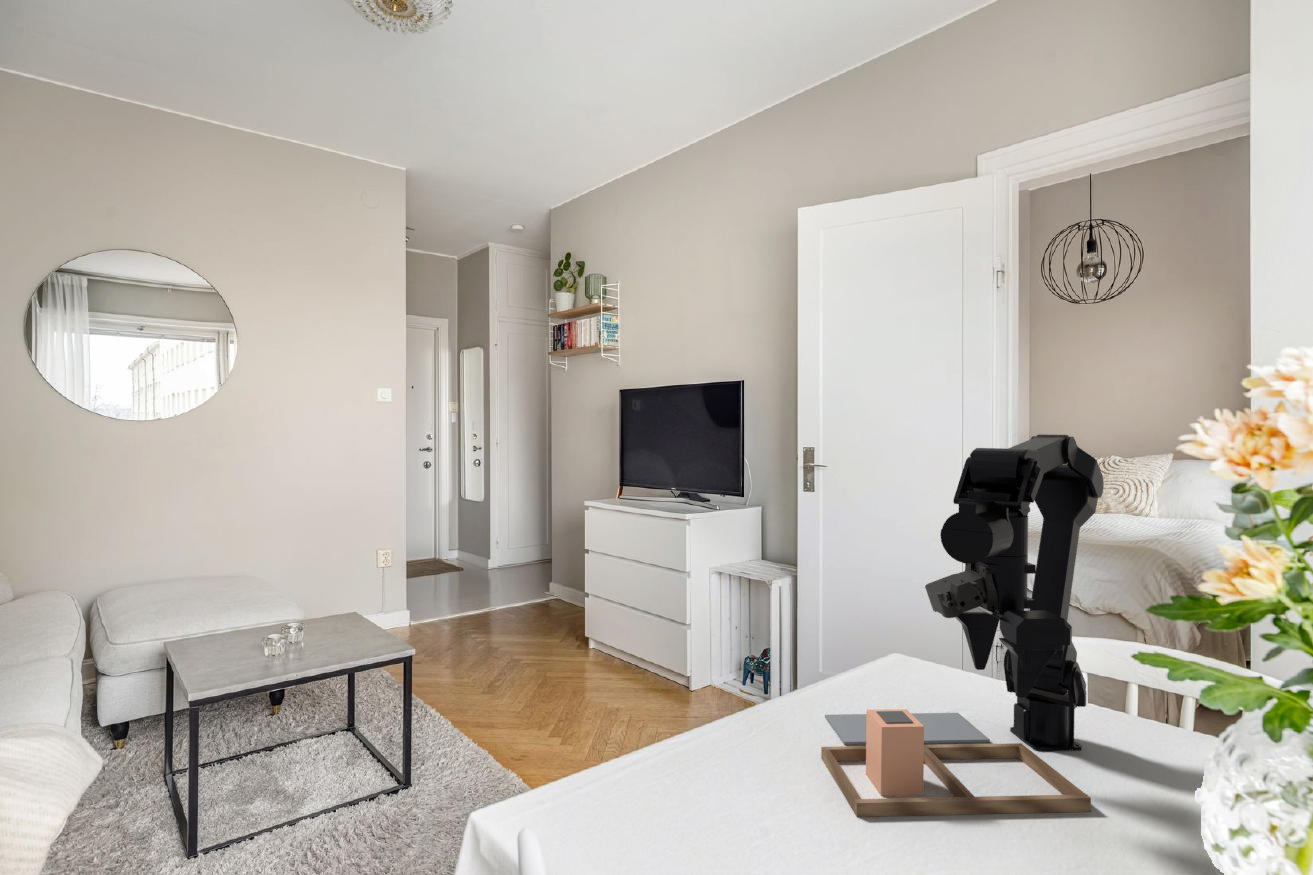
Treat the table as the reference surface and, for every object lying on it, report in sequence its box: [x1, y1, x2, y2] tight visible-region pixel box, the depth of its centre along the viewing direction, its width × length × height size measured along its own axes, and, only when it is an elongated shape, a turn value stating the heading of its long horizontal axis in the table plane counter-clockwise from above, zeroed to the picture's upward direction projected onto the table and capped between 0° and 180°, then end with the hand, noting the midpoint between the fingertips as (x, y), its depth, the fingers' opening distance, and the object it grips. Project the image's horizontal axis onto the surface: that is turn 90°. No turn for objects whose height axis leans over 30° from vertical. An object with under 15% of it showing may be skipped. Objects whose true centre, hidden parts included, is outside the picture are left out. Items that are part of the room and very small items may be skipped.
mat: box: [824, 712, 991, 746], centre depth 99 cm, size 20×9×1 cm, turn 93°
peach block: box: [865, 708, 925, 797], centre depth 84 cm, size 5×5×8 cm
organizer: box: [820, 742, 1092, 818], centre depth 84 cm, size 26×14×2 cm, turn 93°
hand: (999, 682), depth 84 cm, fingers open, 9 cm apart
